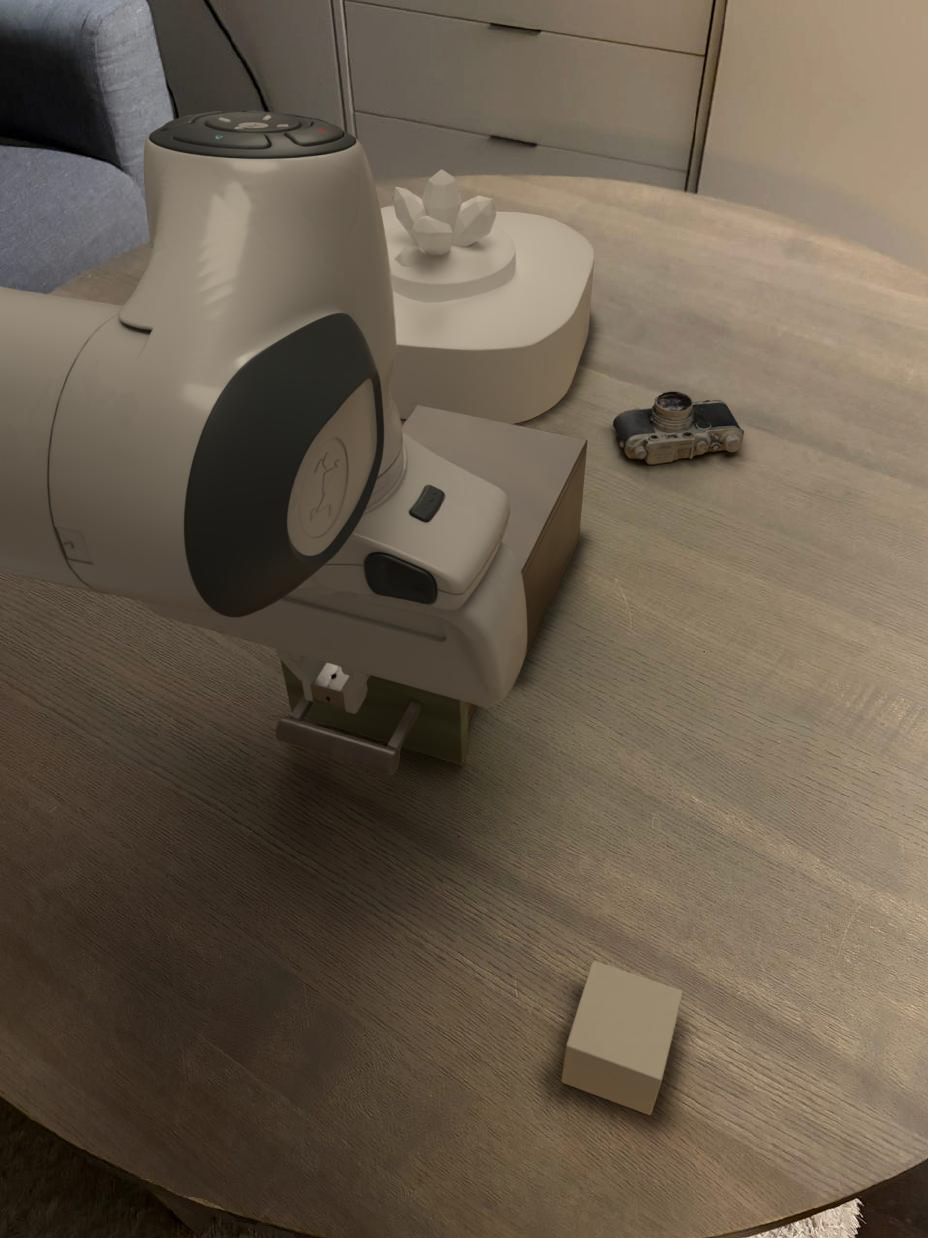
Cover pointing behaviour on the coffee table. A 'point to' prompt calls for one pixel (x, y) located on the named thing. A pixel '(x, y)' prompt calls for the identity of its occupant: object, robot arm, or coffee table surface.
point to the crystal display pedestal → (484, 304)
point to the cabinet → (518, 490)
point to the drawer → (379, 724)
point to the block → (621, 1037)
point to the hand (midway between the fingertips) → (336, 698)
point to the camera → (677, 429)
